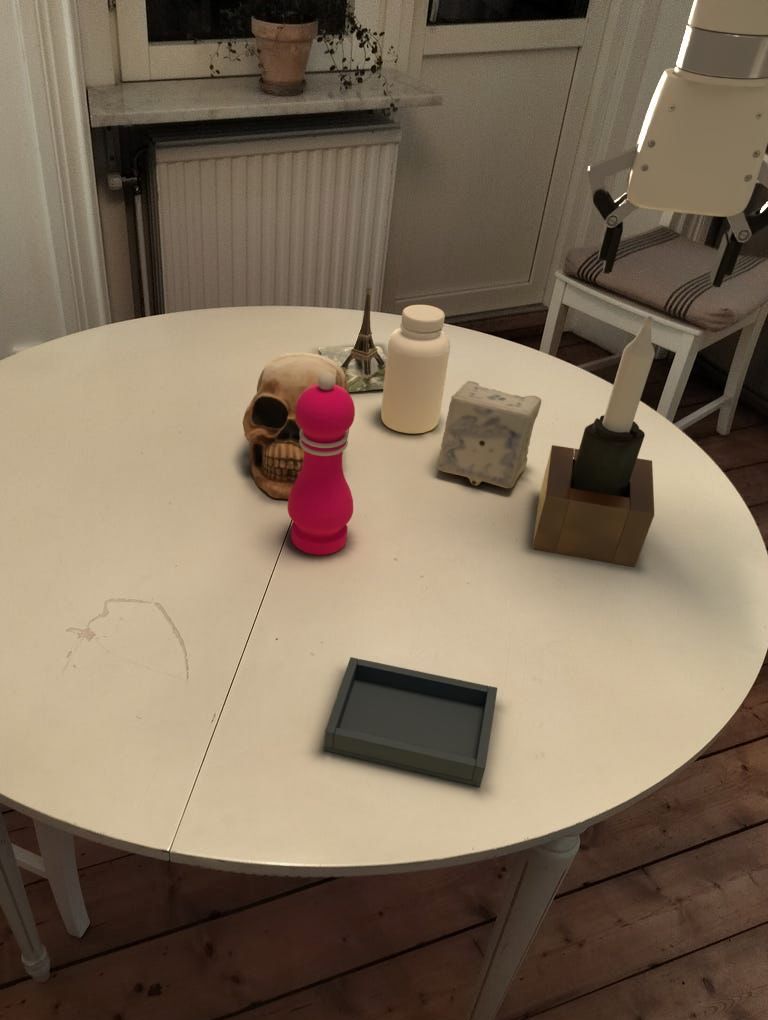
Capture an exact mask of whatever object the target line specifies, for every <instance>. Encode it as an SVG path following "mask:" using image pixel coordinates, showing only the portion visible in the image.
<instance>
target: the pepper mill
mask: <svg viewBox="0 0 768 1020" xmlns="http://www.w3.org/2000/svg"><path fill="white" fill-rule="evenodd" d="M335 382H336V380H335V377H334V375H333V374H332V373H330V372H323V373H321V374H320V375H319V377H318V384H316V385H312V386H311V387H309V388H307V389H306V390H305V391H303V393H302V394H301V395H300V396H299V398H298V401H297V404H296V410H295V414H296V420H297V422H298V424H299V426H300V427H301V428H302V429H301V430H300V441H299V442H300V446H301V447H302V449H303V450H304V459H303V465H302V469H301V471H300V473H299V475H298V478H297V479H296V481H295V483H294V485H293V487H292V490H291V492H290V495H289V499H287V500H288V501H287V513H288V515H289V518H290V519H291V521H292V523H291V542H292V544H293V545H294V547H296V548H297V549H298V550H299V551H302V552H303V553H306V554H308V555H314V556H315V555H316V556H325V555H326V556H327V555H331V554H334V553H336V552H339V551H340V550H341V549H342V548H344V546H345V545H346V543H347V539H348V525H347V524H348V523H349V522H350V520H351V519H352V517H353V514H354V499H353V494H352V491H351V488H350V486H349V484H348V482H347V479H346V476H345V474H344V469H343V453H344V451H345V450H346V449H347V448H348V444H349V441H348V440H349V439H348V438H349V434H348V432H347V430H348V429H349V430H350V428H351V427H352V425H353V423H354V421H355V417H356V408H355V402H354V400H353V397H352V395H351V394H350V392H349V393H348V392H347V391H346V390H345V389H343V388H342V387H340V386H338V385H335Z"/></svg>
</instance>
